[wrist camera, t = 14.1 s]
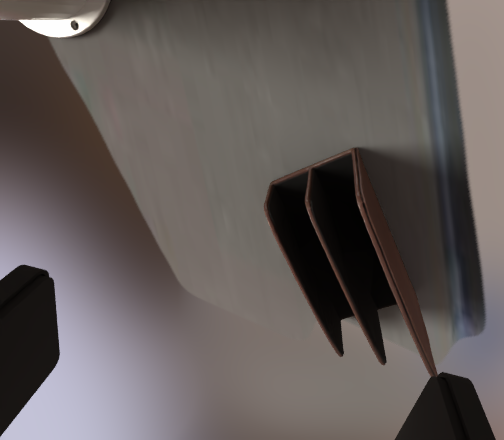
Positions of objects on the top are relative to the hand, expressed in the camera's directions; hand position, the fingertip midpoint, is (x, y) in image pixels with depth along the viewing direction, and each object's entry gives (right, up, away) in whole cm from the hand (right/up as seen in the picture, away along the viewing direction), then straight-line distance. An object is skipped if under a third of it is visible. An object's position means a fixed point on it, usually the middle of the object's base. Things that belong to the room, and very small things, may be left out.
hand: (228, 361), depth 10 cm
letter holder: (+11, +1, +36) cm, 37 cm away
